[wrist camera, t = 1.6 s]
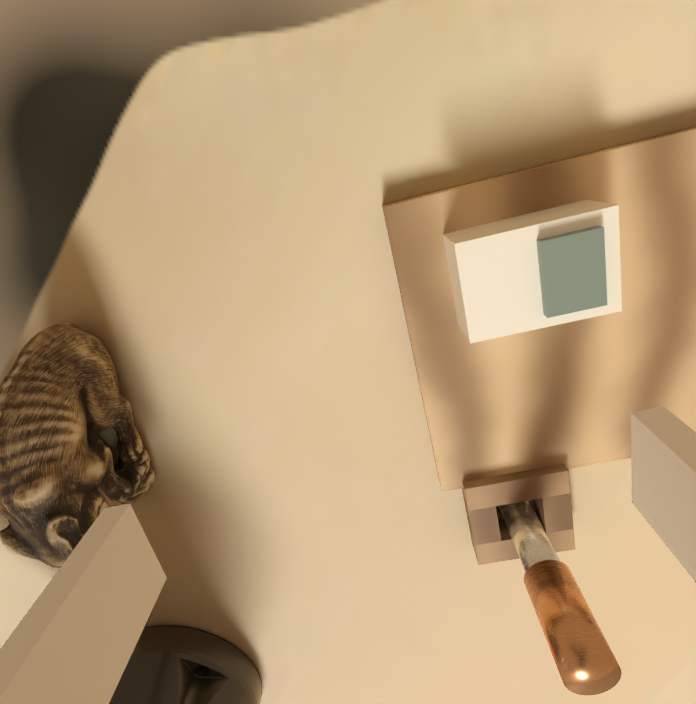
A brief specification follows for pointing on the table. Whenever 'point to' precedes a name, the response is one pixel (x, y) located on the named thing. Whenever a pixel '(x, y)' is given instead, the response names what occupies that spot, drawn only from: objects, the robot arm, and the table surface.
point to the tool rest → (511, 488)
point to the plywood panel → (564, 339)
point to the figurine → (64, 443)
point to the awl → (561, 607)
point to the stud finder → (536, 270)
